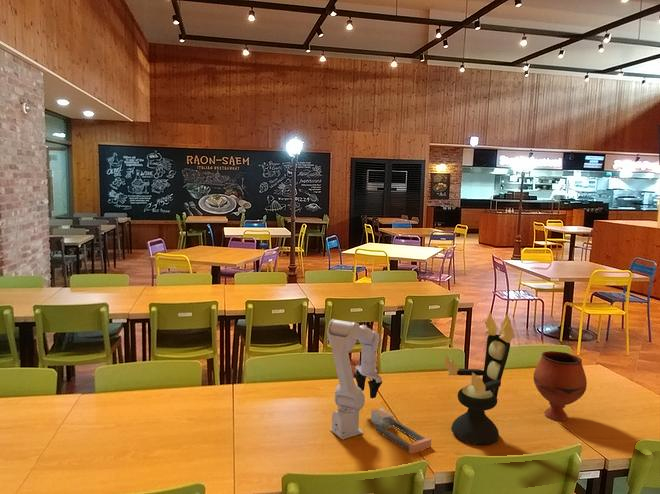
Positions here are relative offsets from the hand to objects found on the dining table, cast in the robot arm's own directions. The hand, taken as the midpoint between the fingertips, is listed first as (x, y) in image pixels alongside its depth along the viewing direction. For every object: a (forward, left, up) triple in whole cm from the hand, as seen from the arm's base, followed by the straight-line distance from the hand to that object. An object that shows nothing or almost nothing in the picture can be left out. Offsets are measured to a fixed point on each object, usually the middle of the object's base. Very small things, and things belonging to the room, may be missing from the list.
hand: (367, 394), depth 200 cm
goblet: (+66, -39, -9) cm, 77 cm away
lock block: (0, -10, -9) cm, 13 cm away
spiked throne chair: (+27, -33, -9) cm, 43 cm away
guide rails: (0, -21, -8) cm, 23 cm away
